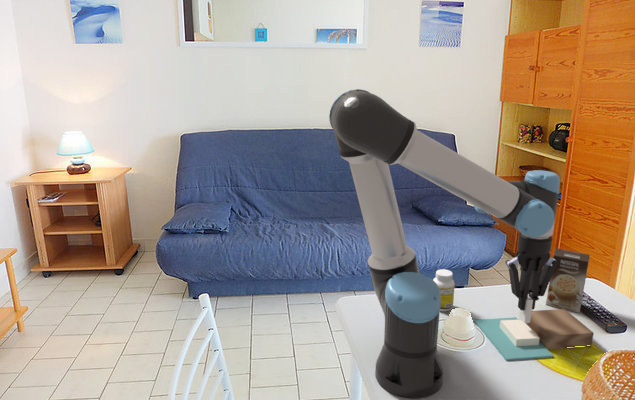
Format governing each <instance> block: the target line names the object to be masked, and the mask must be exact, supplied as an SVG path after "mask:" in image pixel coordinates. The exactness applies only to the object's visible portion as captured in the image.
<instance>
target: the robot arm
mask: <svg viewBox="0 0 635 400" xmlns="http://www.w3.org/2000/svg"><path fill="white" fill-rule="evenodd" d="M328 119H329V123H330V127H331V129H332V130H333V132H334V136H335V140H336V143H337V147H338V151H339V154H340V158H341V159H343V160H345V161H347V162H348V163H349V168H350V172H351V176H352V179H353V183H354V187H355V191H356V195H357V200H358V204H359V207H360V211H361V216H362V218H363V223H364V227H365V232H366V234H367V235H366V236H367V240H368V243H369V247H370V251H371V254H370V256H369V257H368V259H367V265H368V267H369V272H370V283H371V287H372V289H373V290H374V293H375V295H376V297H377V299H378V303H379V305H380V308H381V310H382V312H383V317H384V331H383V332H384V334H383V335H384V337H383V339H384V340H383V345H382V347H381V350H380V352H379V353H378V354H379V355H378V357H377V359H376V362H375V379H376V381H377V382H378V384H379V385H380V386H381V387H382V388H383V389H384V390H386V391H387V392H389V393H391V394H393V395H395V396H398V397H403V398H407V399H408V398H409V399H421V398H427V397H429V396H432V395H433V394H435V393H437V392H438V391H439V390H440V389H441V387H442V385H443V379H444V378H443V377H444V371H443V367H442V363H441V359H440V356H439V353H438V337H439V336H438V335H439V327H440V326H439V323H440V313H441V311H440V306H441V298H440V290H439V287H438V286H437V284H436V283H435V282H434V281H433V279H432V278H431V277H428V276H425V274H422V273H420V270H419V265H418V264H419V263H418V261H417V256H416V252H415V250H414V249H413V248H411V247H409V246H408V245H407V240H406V236H405V232H404V227H403V224H402V223H403V222H402V219H401V214H400V209H399V206H398V205H399V204H398V201H397V198H396V192H395V187H394V183H393V179H392V175H391V169H390V166H393V165H396V164H398V165H400V166H402V167H404V168H406V169H407V170H409V171H411V172H413V173H414V174H417V175H418V176H420V177H421V178H424V179H425V180H427V181H429V182H431V183H433V184H435V185H436V186H438V187H441V188H442V189H444V190H446V191H447V192H449V193H451V194H452V195H455V196H456V197H458V198H460V199H462V200H464V201H466V202H467V203H469V204H472V205H473V207H474V209H475V211H476V213H477V212H478V213H479V214H487V215H491V216H493V217H495V218H497V219H498V220H500V221H501V222H504V223H506V224H507V225H508V226H510V227H513V228H514V229H516V231H517V232H519V233H518V237H517V250H516V251H517V252H515V255H514V257H513V258H512V259H511V260H510V259H506V260H505V265H506V266H507V268H508V273H509V279H510V288H511V293H512V294H513V295H514V296H515V297H516V298H517V299H518V301H517V302H518V303H517V308H518V309H519V314H518V315H519V316H518V319H519V320H520V319H521V320H522V321H523V322H524V323H530V319H531V312H532V311H533V310H534V309H535V308H536V301H539V299H540V298H539V297H544V296H545V294H546V291H547V290H548V287H549V281H550V279H551V276H552V274H553V271H554V269H555V268H556V267H557V265H558V264H559V262H558V261H556V260H555V259H554V258H553V256H552V257H551V253H550V252H551V251H552V243H553V235H554V230H555V222H556V214H557V210H558V209H557V208H558V201H559V195H560V187H561V178H560V176H559V174H557V173H555V172H553V171H549V170H541V169H539V170H538V169H537V170H536V169H535V170H529V171H527V172H526V174H525V177H524V179H523V180H505V179H503V178H502V177H500V176H498V175H497V174H495V173H493V172H491V171H489V170H488V169H486V168H484V167H483V166H481V165H479V164H477V163H476V162H474V161H472V160H471V159H468V158H467V157H465V156H463V155H461V154H460V153H458V152H456V151H455V150H453V149H451V148H449V147H447V146H445V145H444V144H442V143H440V142H439V141H437V140H435V139H433V138H432V137H430V136H428V135H426V134H424V133H423V132H422V131H419V130H418V129H417V124H416V123H415V122H414V121H412V120H411V119H409V118H408V117H406V116H405V115H402V114H401V113H400V112H399V111H398V110H396V109H395V108H393V106H391V104H389V103H387V102H386V100H384V99H383V98H381V97H380V96H378V95H376V94H374V93H372V92H370V91H368V90H366V89H359V88H357V89H351V90H348V91H345V92H343V93H342V94H340V95H339V96H338V97H337V98H336V99H335V100H334V102H333V103H332V106H331V108H330V110H329V118H328ZM389 165H390V166H389ZM518 264H519V265H518ZM519 266H520V276H519V270H518V268H519Z"/></svg>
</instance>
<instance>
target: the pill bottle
mask: <svg viewBox="0 0 635 400" xmlns="http://www.w3.org/2000/svg"><path fill="white" fill-rule="evenodd" d="M453 276H454V273H453V271H451V270H449V269H443V268H442V269H441V268H440V269H437V270H436V271H435V277H434V278H433V279H432V280H433V281H434V282H435V283H436V284H437V286H438V287H439V290H440V298H441V306H440V312H449V311H452V310H453V307H454V296H455V288H456V287H455V286H456V285H455V281H454V279H453Z"/></svg>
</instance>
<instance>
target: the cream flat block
mask: <svg viewBox="0 0 635 400" xmlns="http://www.w3.org/2000/svg"><path fill="white" fill-rule="evenodd" d="M500 328H501V329H502V331H503V332H504V333H505V334H506V335H507V336H508V338H509V339H510V340H511V341H512V342H513V344H514V345H515V346H530V345H539V340H540V338H539V337H538V336H537V335H536V334H535V333H534V332H533V330H532V329H531V328H530V327H529V326H528V325H527V324H526V323H524V322H523V321H522V320H521V319H520V318H519V319H518V320H500Z"/></svg>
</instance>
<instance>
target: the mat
mask: <svg viewBox="0 0 635 400" xmlns="http://www.w3.org/2000/svg"><path fill="white" fill-rule="evenodd" d="M500 320H519V318H517V317H501V318H500V317H499V318H487V319H486V318H483V319H474V323H475V324H476V325H477V327H478V328H479V329H480V330H481V332H483V334H484V335H485V337H486V338H487V339H488V340H489V341H490V343H491V344H492V345H493V346H494V348H495V349H496V350H497V351H498V353H499V354H500V355H501V356H502V358H503V359H504V360H505V362H507V361H508V362H509V361H517V360H518V361H521V360H533V359H534V360H536V359H545V358H546V359H547V358H548V359H549V357H550V358H554V355H553V353H552V352H550V351H551V350H548V349H547V348H546V347H545V346H544V345H543V344H542V343H541V342H540V341H539V345H530V346H515V345H514V344H513V342H512V341H511V340H510V339H509V338H508V336H507V335H506V334H505V333H504V332H503V331H502V329H501V328H500Z"/></svg>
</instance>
